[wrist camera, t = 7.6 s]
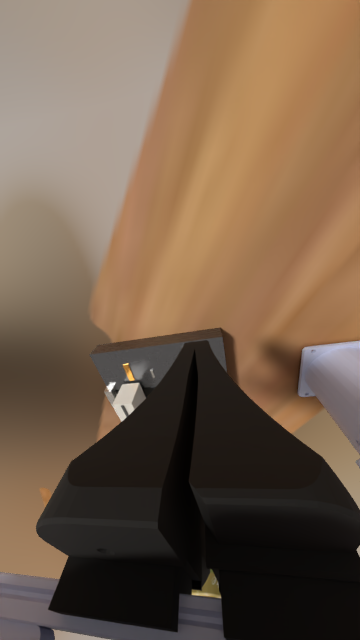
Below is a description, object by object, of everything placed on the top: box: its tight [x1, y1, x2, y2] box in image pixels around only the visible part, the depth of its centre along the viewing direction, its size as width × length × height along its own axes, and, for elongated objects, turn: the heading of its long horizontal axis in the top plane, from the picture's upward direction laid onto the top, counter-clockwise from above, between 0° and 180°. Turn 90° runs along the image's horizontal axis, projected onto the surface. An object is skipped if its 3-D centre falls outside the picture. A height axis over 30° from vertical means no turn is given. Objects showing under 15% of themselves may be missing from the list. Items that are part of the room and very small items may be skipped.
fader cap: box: [112, 383, 146, 422], centre depth 21 cm, size 2×4×3 cm, turn 12°
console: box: [90, 328, 227, 407], centre depth 23 cm, size 16×14×3 cm
